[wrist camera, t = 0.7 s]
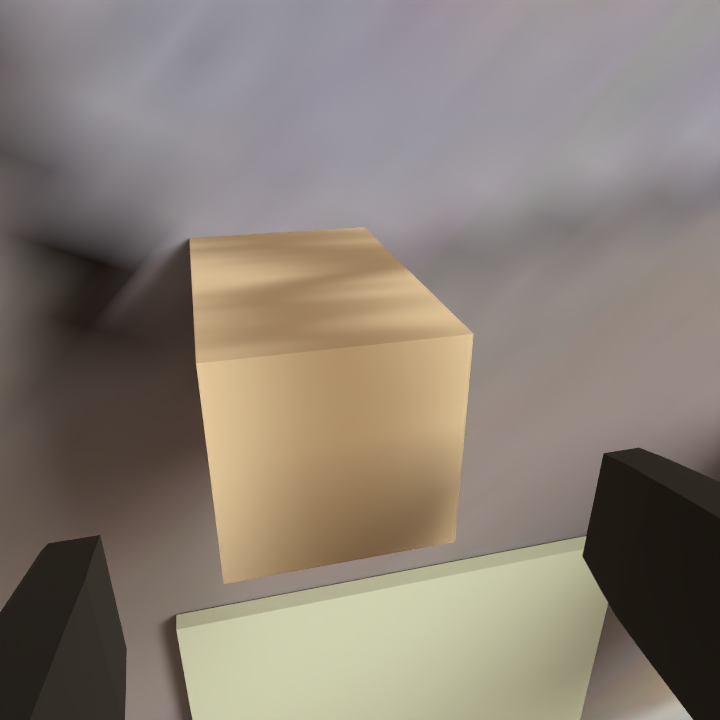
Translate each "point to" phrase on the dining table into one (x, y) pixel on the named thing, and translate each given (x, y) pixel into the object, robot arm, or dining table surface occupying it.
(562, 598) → the felt mat
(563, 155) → the dining table surface
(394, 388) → the birch block
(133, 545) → the dining table surface
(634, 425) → the dining table surface
